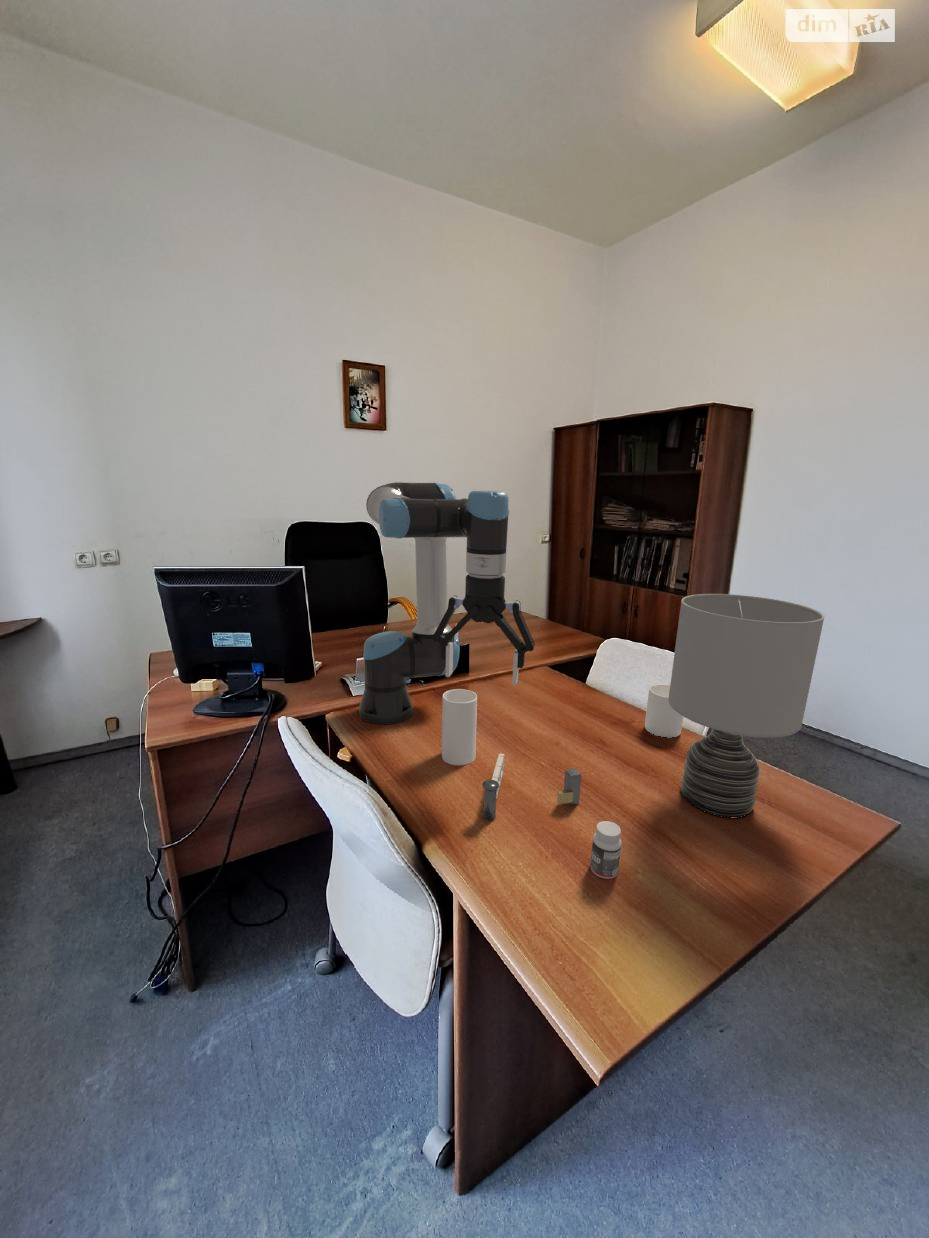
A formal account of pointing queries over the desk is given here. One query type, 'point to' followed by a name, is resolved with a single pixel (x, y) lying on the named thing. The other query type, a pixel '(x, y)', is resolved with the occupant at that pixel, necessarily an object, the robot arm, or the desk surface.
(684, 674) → the lamp
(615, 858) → the pill bottle
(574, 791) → the grey upright block
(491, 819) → the hinge post
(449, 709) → the cup
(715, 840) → the desk surface
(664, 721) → the mug
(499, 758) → the gate
